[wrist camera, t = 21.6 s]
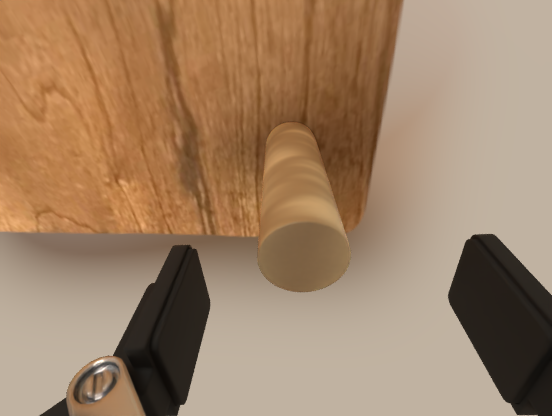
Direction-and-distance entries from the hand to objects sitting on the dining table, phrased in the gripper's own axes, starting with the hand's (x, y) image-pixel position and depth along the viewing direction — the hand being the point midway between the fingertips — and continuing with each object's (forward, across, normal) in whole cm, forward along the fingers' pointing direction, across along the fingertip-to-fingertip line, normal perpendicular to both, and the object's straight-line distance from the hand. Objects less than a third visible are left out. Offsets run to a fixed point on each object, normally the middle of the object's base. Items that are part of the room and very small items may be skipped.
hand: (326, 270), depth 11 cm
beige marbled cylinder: (+13, +1, 0) cm, 13 cm away
